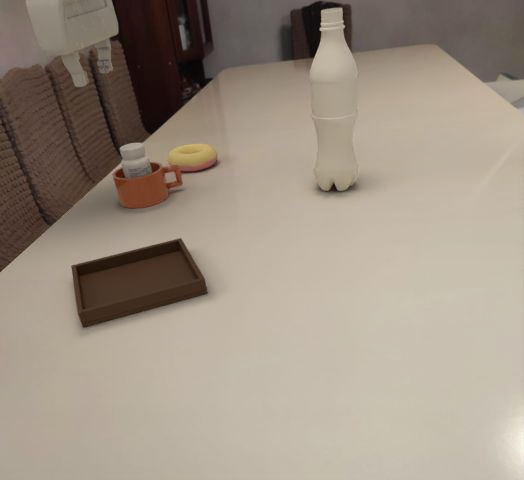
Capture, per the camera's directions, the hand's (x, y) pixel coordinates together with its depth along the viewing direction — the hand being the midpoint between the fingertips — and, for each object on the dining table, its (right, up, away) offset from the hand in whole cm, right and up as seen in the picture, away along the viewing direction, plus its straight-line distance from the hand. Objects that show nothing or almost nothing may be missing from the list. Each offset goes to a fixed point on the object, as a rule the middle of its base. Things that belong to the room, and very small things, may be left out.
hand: (95, 79), depth 82 cm
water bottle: (+38, -15, +6) cm, 41 cm away
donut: (+12, -5, +23) cm, 27 cm away
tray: (+10, -34, -14) cm, 38 cm away
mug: (+6, -15, +12) cm, 20 cm away
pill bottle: (+5, -15, +11) cm, 19 cm away
